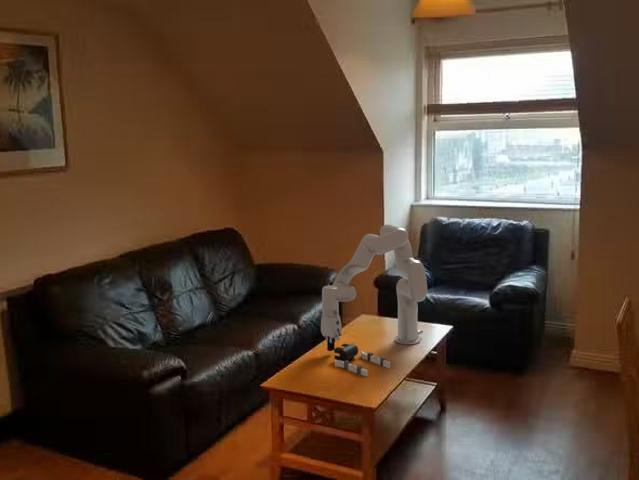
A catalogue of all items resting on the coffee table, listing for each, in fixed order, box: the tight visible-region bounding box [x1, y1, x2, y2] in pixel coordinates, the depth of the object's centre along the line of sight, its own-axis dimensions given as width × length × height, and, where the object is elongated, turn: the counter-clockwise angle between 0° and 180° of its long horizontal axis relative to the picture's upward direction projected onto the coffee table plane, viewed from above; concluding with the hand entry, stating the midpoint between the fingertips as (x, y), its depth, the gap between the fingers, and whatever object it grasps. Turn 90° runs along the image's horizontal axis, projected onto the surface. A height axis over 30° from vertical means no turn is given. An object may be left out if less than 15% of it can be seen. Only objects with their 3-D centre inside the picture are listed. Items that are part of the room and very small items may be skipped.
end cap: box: [333, 343, 359, 361], centre depth 306 cm, size 10×7×7 cm
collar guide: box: [334, 350, 391, 377], centre depth 298 cm, size 18×19×4 cm
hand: (331, 350), depth 314 cm, fingers closed
